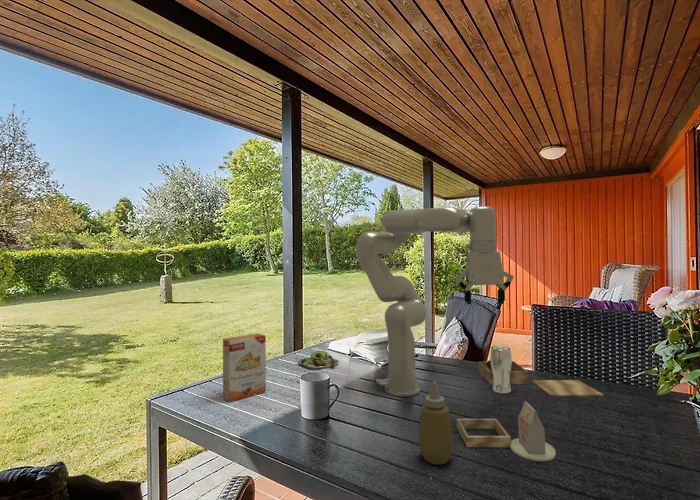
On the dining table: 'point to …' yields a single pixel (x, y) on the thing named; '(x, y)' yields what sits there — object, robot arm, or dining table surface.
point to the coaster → (523, 453)
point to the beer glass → (501, 368)
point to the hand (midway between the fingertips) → (484, 303)
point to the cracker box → (244, 366)
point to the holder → (483, 441)
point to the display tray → (516, 375)
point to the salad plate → (318, 360)
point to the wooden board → (566, 388)
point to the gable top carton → (531, 430)
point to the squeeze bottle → (435, 428)
